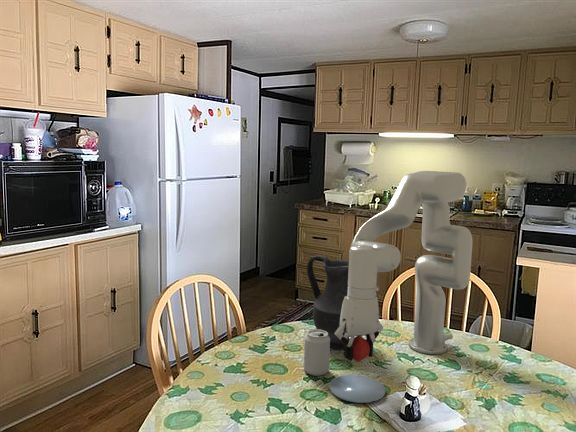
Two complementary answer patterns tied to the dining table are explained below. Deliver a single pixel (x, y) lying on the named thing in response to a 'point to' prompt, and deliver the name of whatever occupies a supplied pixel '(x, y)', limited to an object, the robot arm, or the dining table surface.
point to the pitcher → (329, 297)
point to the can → (316, 352)
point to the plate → (357, 388)
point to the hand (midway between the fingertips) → (358, 356)
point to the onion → (360, 348)
